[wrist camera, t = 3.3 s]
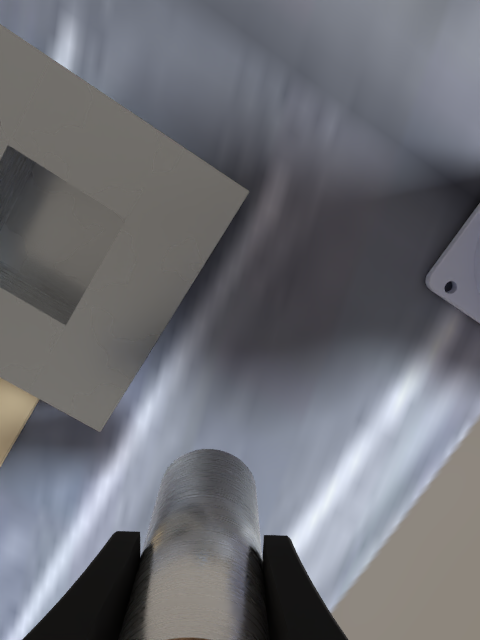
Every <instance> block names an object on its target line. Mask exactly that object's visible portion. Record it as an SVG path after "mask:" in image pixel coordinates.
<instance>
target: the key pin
mask: <svg viewBox="0 0 480 640" xmlns="http://www.w3.org/2000/svg"><path fill="white" fill-rule="evenodd" d="M118 640H269V632H268V621H267V609H266V598H265V587H264V575H263V564H262V551H261V539H260V528H259V516H258V505H257V493H256V485H255V481H254V478H253V475H252V473H251V472H250V470H249V469H248V467H247V466H246V465H245V464H244V463H243V462H242V461H241V460H240V459H238V458H237V457H235V456H233V455H231V454H229V453H227V452H224V451H220V450H215V449H201V450H195V451H192V452H189V453H186V454H184V455H182V456H181V457H179V458H178V459H176V460H175V461H174V462H173V463H172V464H171V465H170V466H169V467H168V468H167V470H166V472H165V473H164V475H163V478H162V481H161V484H160V488H159V492H158V495H157V499H156V503H155V506H154V510H153V514H152V517H151V521H150V525H149V529H148V532H147V536H146V540H145V543H144V547H143V551H142V554H141V558H140V562H139V566H138V569H137V573H136V577H135V580H134V584H133V588H132V591H131V595H130V599H129V602H128V606H127V610H126V614H125V617H124V621H123V625H122V628H121V632H120V636H119V639H118Z"/></svg>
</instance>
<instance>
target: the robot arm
mask: <svg viewBox="0 0 480 640" xmlns="http://www.w3.org/2000/svg"><path fill="white" fill-rule="evenodd" d="M449 281H451V282H452V289H451V290H450V291H449V292H446V291H445V288H444V287H445V285H446V283H448V282H449ZM426 285H427V287H428V288H429V289H430V290H431V291H432V292H434V293H435V294H437V295H438V296H440V297H441V298H443V299H444V300H446V301H447V302H449V303H450V304H452V305H453V306H455V307H456V308H457V309H459V310H460V311H462V312H463V313H465V314H466V315H468V316H469V317H471V318H472V319H474V320H475V321H477V322H478V323H480V203H479V204H478V206H477V207H476V209H475V210H474V211H473V213H472V214H471V215H470V217H469V218H468V219H467V221H466V222H465V224H464V225H463V226H462V228H461V229H460V230H459V232H458V233H457V234H456V236H455V237H454V239H453V240H452V241H451V243H450V244H449V245H448V247H447V248H446V250H445V251H444V252H443V254H442V255H441V256H440V258H439V259H438V260H437V262H436V263H435V265H434V266H433V267H432V269H431V270H430V271H429V273H428V274H427V276H426ZM139 562H140V532H126V531H117V532H115V533H114V534H113V535H112V536H111V538H110V539H109V540H108V542H107V543H106V544H105V546H104V547H103V548H102V550H101V551H100V552H99V554H98V555H97V556H96V557H95V559H94V560H93V561H92V562H91V564H90V565H89V566H88V567H87V569H86V570H85V571H84V572H83V574H82V575H81V576H80V577H79V578H78V580H77V581H76V582H75V583H74V584H73V585H72V587H71V588H70V589H69V590H68V591H67V592H66V594H65V595H64V596H63V597H62V598H61V599H60V600H59V602H58V603H57V604H56V605H55V606H54V607H53V608H52V609H51V610H50V611H49V612H48V613H47V614H46V616H45V617H44V618H43V619H42V620H41V621H40V622H39V623H38V624H37V625H36V626H35V627H34V628H33V629H32V630H31V631H30V632H29V633H28V634H27V635H26V636H25V637H24V638H23V639H22V640H118V639H119V636H120V632H121V628H122V625H123V621H124V617H125V614H126V610H127V606H128V602H129V599H130V595H131V591H132V588H133V584H134V580H135V577H136V573H137V569H138V566H139ZM262 564H263V575H264V587H265V598H266V609H267V621H268V632H269V640H348V639H347V637H346V636H345V634H344V633H343V631H342V630H341V629H340V627H339V625H338V624H337V622H336V621H335V619H334V618H333V616H332V615H331V613H330V612H329V610H328V608H327V607H326V605H325V603H324V602H323V600H322V598H321V597H320V595H319V593H318V592H317V590H316V588H315V587H314V585H313V583H312V581H311V580H310V578H309V576H308V574H307V572H306V570H305V568H304V567H303V565H302V563H301V561H300V559H299V557H298V555H297V553H296V550H295V548H294V546H293V544H292V541H291V539H290V538H289V537H288V536H277V535H264V545H263V560H262Z"/></svg>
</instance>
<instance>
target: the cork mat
mask: <svg viewBox="0 0 480 640" xmlns="http://www.w3.org/2000/svg"><path fill="white" fill-rule="evenodd" d="M39 400H40V399H38V398H37V397H35V396H33V395H31V394H29V393H27V392H26V391H24V390H22V389H20V388H18V387H16V386H15V385H13V384H11V383H9V382H7V381H6V380H4V379H2V378H0V467H1V465H2V464H3V462H4V460H5V459H6V457H7V455H8V453H9V452H10V450H11V448H12V446H13V445H14V443H15V441H16V440H17V438H18V436H19V434H20V433H21V431H22V429H23V427H24V426H25V424H26V422H27V421H28V419H29V417H30V415H31V414H32V412H33V410H34V408H35V407H36V405H37V403H38V401H39Z"/></svg>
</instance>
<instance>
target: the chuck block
mask: <svg viewBox="0 0 480 640" xmlns="http://www.w3.org/2000/svg"><path fill="white" fill-rule="evenodd" d="M249 192H250V191H248V190H247V189H245V188H244V187H242V186H241V185H239V184H238V183H236V182H235V181H233V180H232V179H230V178H229V177H227V176H226V175H224V174H223V173H221V172H220V171H218V170H217V169H215V168H214V167H212V166H211V165H209V164H208V163H206V162H205V161H203V160H202V159H200V158H199V157H197V156H196V155H194V154H193V153H191V152H190V151H188V150H187V149H185V148H184V147H182V146H181V145H180V144H178V143H177V142H175V141H174V140H172V139H171V138H169V137H168V136H166V135H165V134H163V133H162V132H160V131H159V130H157V129H156V128H154V127H153V126H151V125H150V124H148V123H147V122H145V121H144V120H142V119H141V118H139V117H138V116H136V115H135V114H133V113H132V112H130V111H129V110H127V109H126V108H124V107H123V106H121V105H120V104H118V103H117V102H115V101H114V100H112V99H111V98H109V97H108V96H106V95H105V94H103V93H102V92H100V91H99V90H98V89H96V88H95V87H93V86H92V85H90V84H89V83H87V82H86V81H84V80H83V79H81V78H80V77H78V76H77V75H75V74H74V73H72V72H71V71H69V70H68V69H66V68H65V67H63V66H62V65H60V64H59V63H57V62H56V61H54V60H53V59H51V58H50V57H48V56H47V55H45V54H44V53H42V52H41V51H39V50H38V49H36V48H35V47H33V46H32V45H30V44H29V43H27V42H26V41H24V40H23V39H21V38H20V37H18V36H17V35H15V34H14V33H13V32H11V31H10V30H8V29H7V28H5V27H4V26H2V25H1V24H0V378H2V379H4V380H6V381H7V382H9V383H11V384H13V385H15V386H16V387H18V388H20V389H22V390H24V391H26V392H27V393H29V394H31V395H33V396H35V397H37V398H38V399H40V400H42V401H44V402H46V403H47V404H49V405H51V406H53V407H55V408H57V409H58V410H60V411H62V412H64V413H66V414H68V415H69V416H71V417H73V418H75V419H77V420H78V421H80V422H82V423H84V424H86V425H88V426H89V427H91V428H93V429H95V430H97V431H99V432H101V430H102V429H103V427H104V425H105V424H106V422H107V421H108V419H109V417H110V416H111V414H112V412H113V411H114V409H115V408H116V406H117V404H118V403H119V401H120V400H121V398H122V396H123V395H124V393H125V392H126V390H127V388H128V387H129V385H130V383H131V382H132V380H133V379H134V377H135V375H136V374H137V372H138V371H139V369H140V367H141V366H142V364H143V362H144V361H145V359H146V358H147V356H148V354H149V353H150V351H151V350H152V348H153V346H154V345H155V343H156V342H157V340H158V338H159V337H160V335H161V333H162V332H163V330H164V329H165V327H166V325H167V324H168V322H169V321H170V319H171V317H172V316H173V314H174V313H175V311H176V309H177V308H178V306H179V304H180V303H181V301H182V300H183V298H184V296H185V295H186V293H187V292H188V290H189V288H190V287H191V285H192V284H193V282H194V280H195V279H196V277H197V275H198V274H199V272H200V271H201V269H202V267H203V266H204V264H205V263H206V261H207V259H208V258H209V256H210V254H211V253H212V251H213V250H214V248H215V246H216V245H217V243H218V242H219V240H220V238H221V237H222V235H223V234H224V232H225V230H226V229H227V227H228V225H229V224H230V222H231V221H232V219H233V217H234V216H235V214H236V213H237V211H238V209H239V208H240V206H241V205H242V203H243V201H244V200H245V198H246V196H247V195H248V193H249Z"/></svg>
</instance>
